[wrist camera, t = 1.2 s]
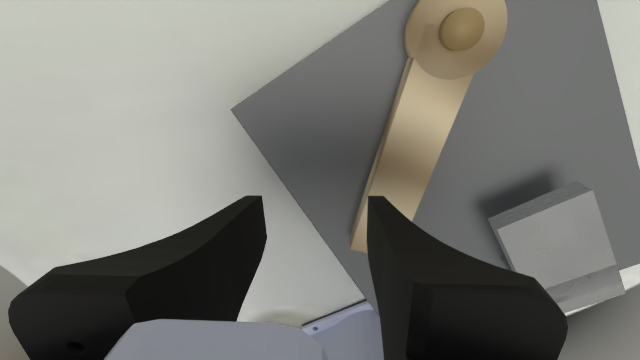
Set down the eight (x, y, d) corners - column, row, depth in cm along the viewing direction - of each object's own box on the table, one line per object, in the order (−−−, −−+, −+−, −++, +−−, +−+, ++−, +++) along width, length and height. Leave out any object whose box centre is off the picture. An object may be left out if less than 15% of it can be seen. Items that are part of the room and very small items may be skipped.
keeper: (471, 200, 20) (496, 229, 17) (549, 165, 19) (592, 189, 16) (511, 281, 23) (539, 321, 19) (582, 255, 21) (625, 293, 18)
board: (397, 333, 27) (399, 345, 26) (236, 106, 20) (230, 109, 19) (645, 245, 22) (661, 256, 21) (549, -108, 15) (566, -121, 14)
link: (421, -29, 15) (435, -42, 13) (508, -6, 15) (537, -16, 13) (340, 233, 22) (340, 255, 19) (401, 248, 22) (408, 271, 20)
